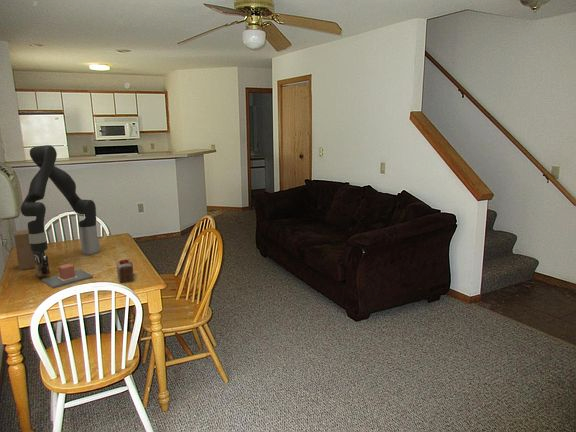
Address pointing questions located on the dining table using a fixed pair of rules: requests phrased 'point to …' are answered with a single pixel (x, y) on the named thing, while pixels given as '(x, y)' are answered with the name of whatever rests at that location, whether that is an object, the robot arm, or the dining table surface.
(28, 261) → the wooden block
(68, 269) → the red block
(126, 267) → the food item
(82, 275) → the grey flat rectangular panel
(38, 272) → the walnut block
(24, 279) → the dining table surface
